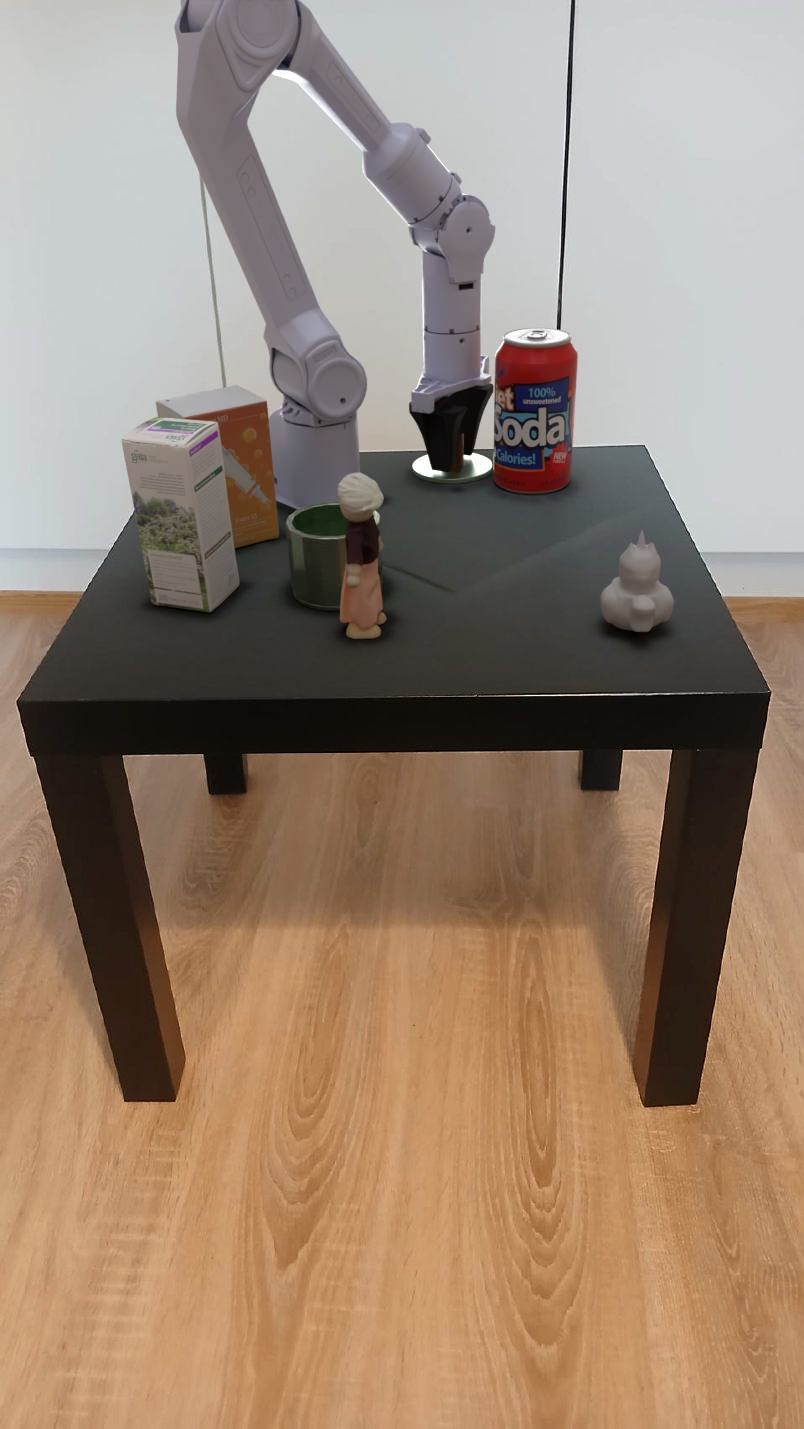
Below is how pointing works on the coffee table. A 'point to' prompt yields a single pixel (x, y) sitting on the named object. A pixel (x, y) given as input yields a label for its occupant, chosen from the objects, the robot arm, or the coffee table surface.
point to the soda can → (534, 410)
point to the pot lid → (455, 467)
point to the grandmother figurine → (361, 557)
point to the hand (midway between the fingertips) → (452, 461)
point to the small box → (238, 455)
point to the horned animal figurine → (637, 591)
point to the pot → (320, 554)
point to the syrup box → (182, 512)
